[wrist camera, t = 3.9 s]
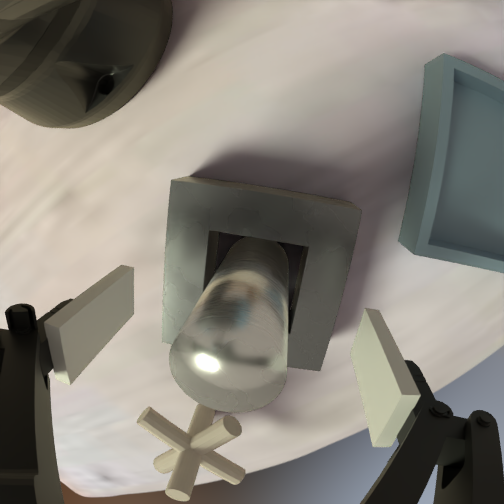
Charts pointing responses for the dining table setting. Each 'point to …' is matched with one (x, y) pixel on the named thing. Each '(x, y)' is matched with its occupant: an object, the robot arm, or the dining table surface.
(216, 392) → the shiny metal cylinder
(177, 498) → the pipe connector
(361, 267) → the dining table surface
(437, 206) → the parts tray
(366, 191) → the dining table surface
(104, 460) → the dining table surface
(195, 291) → the block
